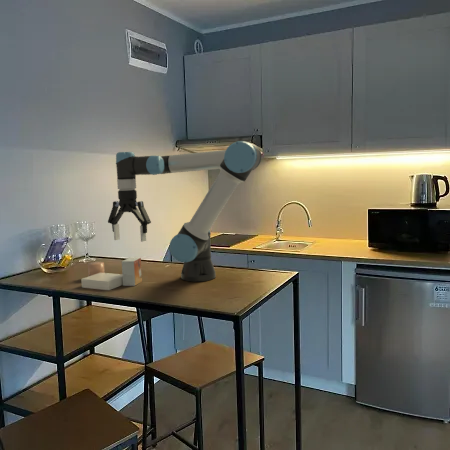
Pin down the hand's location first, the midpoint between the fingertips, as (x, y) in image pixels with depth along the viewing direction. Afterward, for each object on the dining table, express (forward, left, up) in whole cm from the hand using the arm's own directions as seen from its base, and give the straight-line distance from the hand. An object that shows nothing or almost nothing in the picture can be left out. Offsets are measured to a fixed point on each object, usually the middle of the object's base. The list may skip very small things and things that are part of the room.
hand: (130, 240), depth 191 cm
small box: (0, 0, -19) cm, 19 cm away
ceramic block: (+10, +6, -19) cm, 22 cm away
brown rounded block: (+21, -2, -19) cm, 28 cm away
